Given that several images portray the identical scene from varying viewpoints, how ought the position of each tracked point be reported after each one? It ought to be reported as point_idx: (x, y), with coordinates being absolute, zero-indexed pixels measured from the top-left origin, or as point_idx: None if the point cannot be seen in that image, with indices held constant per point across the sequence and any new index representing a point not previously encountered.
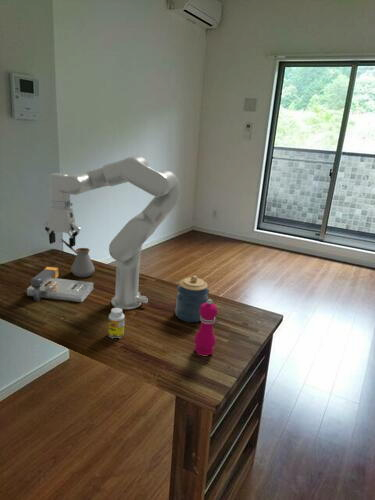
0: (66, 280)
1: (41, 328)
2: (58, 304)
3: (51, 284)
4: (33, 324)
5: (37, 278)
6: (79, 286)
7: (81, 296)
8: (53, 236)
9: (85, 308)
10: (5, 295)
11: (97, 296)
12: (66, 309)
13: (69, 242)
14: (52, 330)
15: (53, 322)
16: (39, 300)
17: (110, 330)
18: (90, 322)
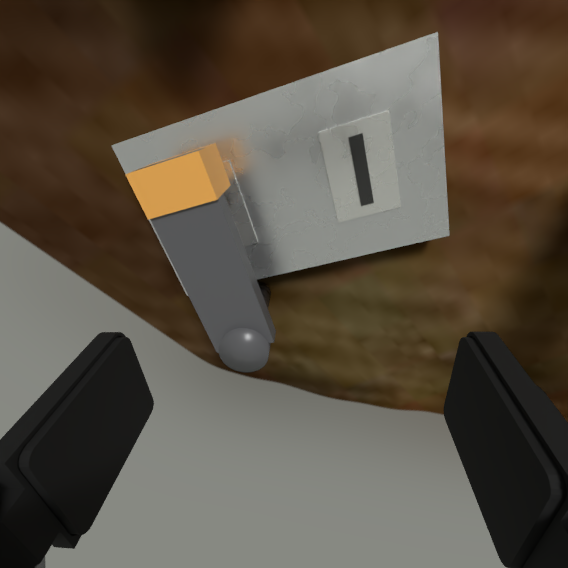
0: (260, 112)
1: (399, 408)
2: (354, 284)
3: (237, 211)
4: (365, 402)
5: (243, 348)
6: (383, 150)
7: (444, 234)
8: (82, 449)
9: (477, 263)
10: (140, 314)
11: (488, 126)
12: (406, 301)
13: (473, 479)
14: (435, 405)
15: (413, 377)
16: (270, 294)
17: None
18: (537, 335)
